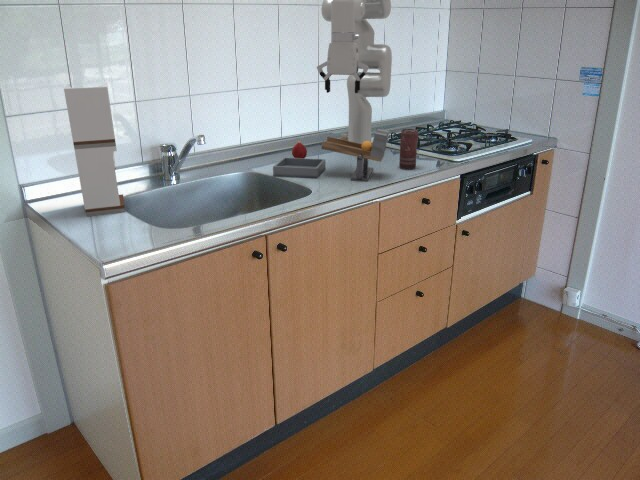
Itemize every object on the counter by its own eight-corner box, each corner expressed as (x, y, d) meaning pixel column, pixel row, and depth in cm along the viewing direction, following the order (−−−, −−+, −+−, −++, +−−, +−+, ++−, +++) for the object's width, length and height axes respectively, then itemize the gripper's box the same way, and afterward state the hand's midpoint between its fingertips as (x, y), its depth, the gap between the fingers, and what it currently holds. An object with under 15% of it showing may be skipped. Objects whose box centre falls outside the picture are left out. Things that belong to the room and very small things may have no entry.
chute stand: (357, 169, 202) (357, 146, 198) (373, 170, 201) (374, 146, 197) (350, 180, 188) (351, 155, 185) (368, 181, 187) (368, 156, 184)
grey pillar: (125, 211, 159) (107, 87, 146) (86, 216, 155) (63, 88, 142) (124, 200, 169) (106, 82, 156) (86, 204, 165) (66, 84, 152)
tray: (284, 166, 207) (283, 157, 206) (325, 168, 204) (325, 159, 202) (273, 176, 194) (272, 166, 193) (317, 178, 191) (317, 168, 190)
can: (416, 170, 201) (418, 131, 195) (398, 169, 202) (400, 131, 197) (416, 166, 206) (419, 128, 201) (399, 165, 207) (401, 128, 202)
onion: (309, 160, 216) (309, 140, 213) (303, 163, 211) (302, 143, 208) (296, 159, 218) (295, 139, 215) (289, 162, 213) (289, 141, 210)
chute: (330, 139, 205) (335, 115, 201) (386, 151, 202) (391, 126, 198) (321, 148, 189) (325, 123, 186) (380, 161, 187) (386, 135, 183)
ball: (361, 149, 193) (363, 138, 192) (372, 152, 193) (374, 141, 191) (359, 152, 189) (361, 141, 188) (370, 154, 189) (373, 143, 187)
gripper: (370, 38, 180) (369, 91, 187) (319, 38, 184) (319, 90, 190) (367, 39, 174) (366, 94, 180) (314, 39, 177) (314, 93, 183)
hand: (342, 92), depth 185 cm, fingers open, 9 cm apart
